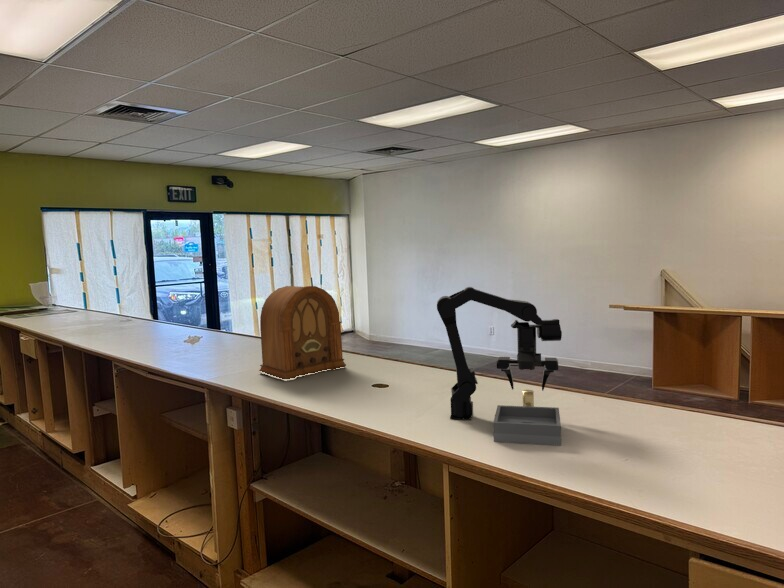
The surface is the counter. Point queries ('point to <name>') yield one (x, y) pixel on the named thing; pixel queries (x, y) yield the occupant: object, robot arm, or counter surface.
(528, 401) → the brass peg
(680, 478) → the counter surface
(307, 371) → the radio
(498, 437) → the tray
